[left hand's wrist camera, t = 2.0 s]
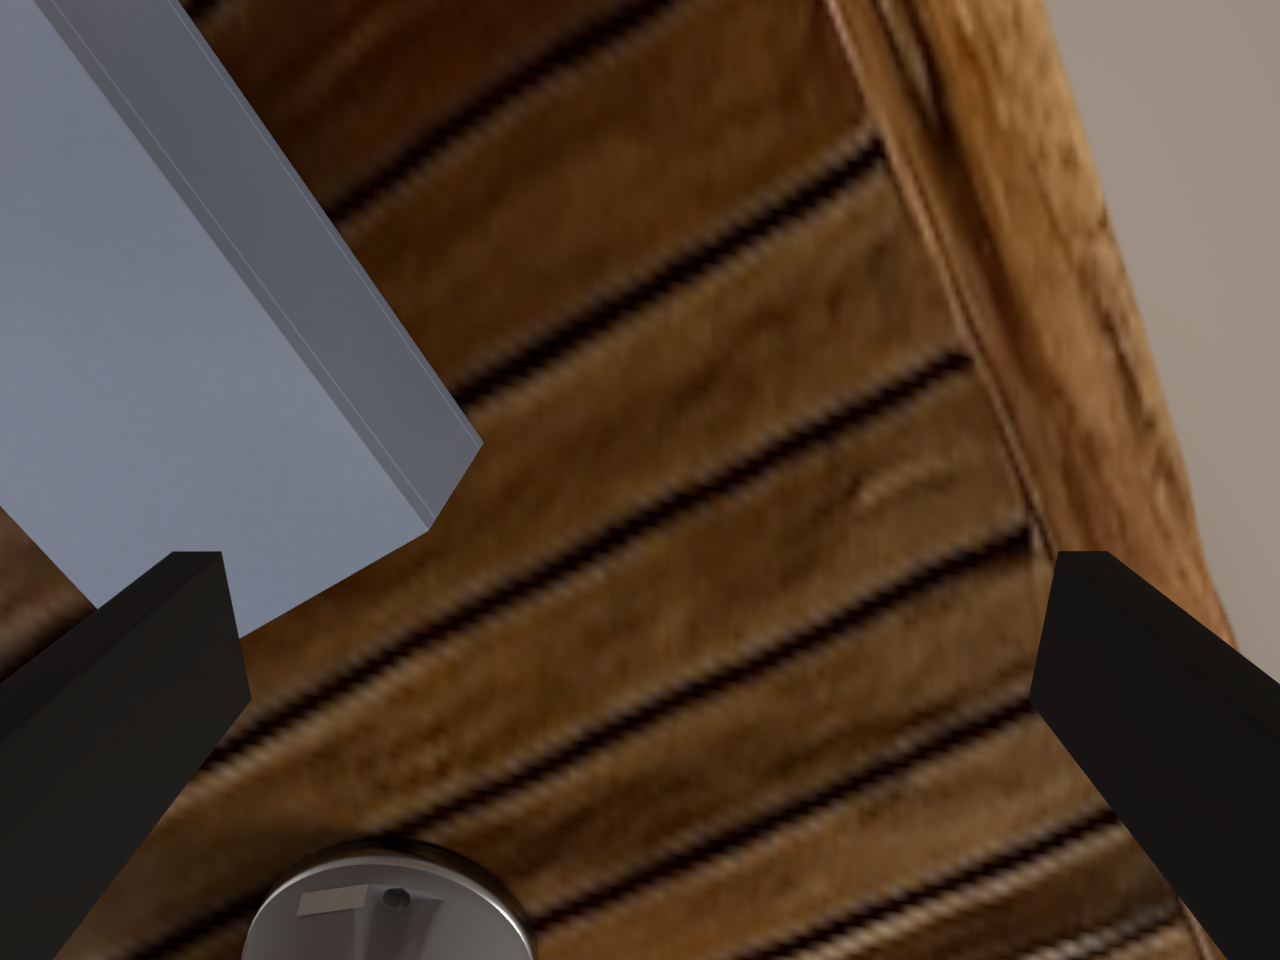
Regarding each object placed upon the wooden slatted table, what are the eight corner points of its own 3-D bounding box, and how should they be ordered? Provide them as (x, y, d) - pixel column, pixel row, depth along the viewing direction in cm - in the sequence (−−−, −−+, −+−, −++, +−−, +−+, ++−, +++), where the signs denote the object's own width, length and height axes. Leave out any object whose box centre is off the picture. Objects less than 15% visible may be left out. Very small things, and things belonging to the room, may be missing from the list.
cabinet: (-99, 105, 29) (-411, 72, 20) (125, -78, 27) (-117, -200, 18) (280, 562, 35) (164, 682, 27) (484, 442, 33) (429, 530, 25)
